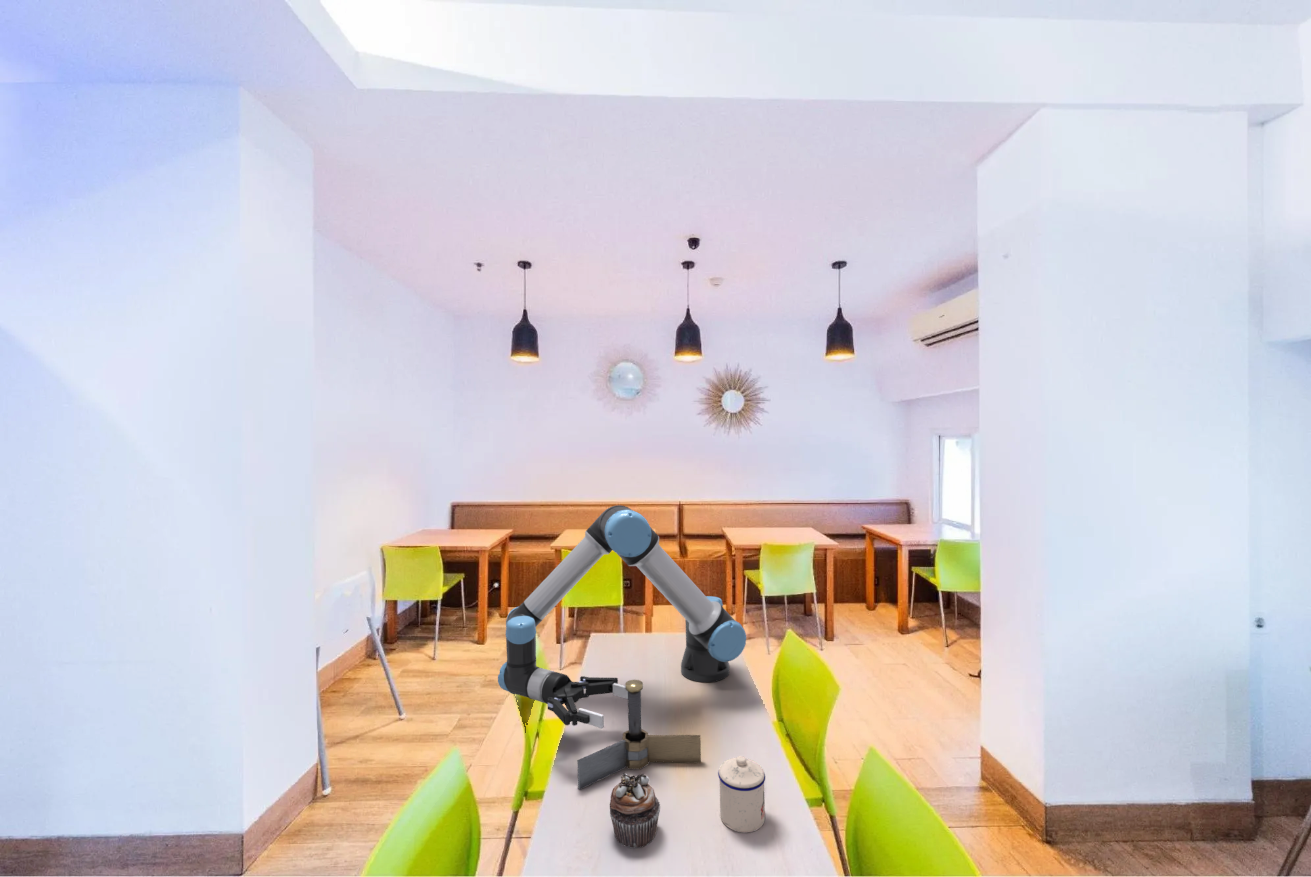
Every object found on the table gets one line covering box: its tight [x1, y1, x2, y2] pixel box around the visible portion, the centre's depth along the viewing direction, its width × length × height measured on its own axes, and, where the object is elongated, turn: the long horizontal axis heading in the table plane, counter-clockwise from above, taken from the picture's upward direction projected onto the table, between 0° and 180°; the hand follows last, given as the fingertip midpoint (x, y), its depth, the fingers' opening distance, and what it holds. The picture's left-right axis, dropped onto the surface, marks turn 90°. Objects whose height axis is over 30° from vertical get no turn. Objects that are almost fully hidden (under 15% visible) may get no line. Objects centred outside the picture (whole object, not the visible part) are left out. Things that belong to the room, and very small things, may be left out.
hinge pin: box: [624, 679, 644, 742], centre depth 123 cm, size 4×4×18 cm
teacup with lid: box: [717, 755, 766, 833], centre depth 106 cm, size 12×9×12 cm
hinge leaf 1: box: [576, 739, 648, 790], centre depth 119 cm, size 18×6×6 cm, turn 127°
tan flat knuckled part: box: [621, 729, 702, 770], centre depth 123 cm, size 18×6×6 cm, turn 87°
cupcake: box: [609, 771, 661, 849], centre depth 101 cm, size 10×10×10 cm
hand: (620, 707), depth 125 cm, fingers open, 13 cm apart
